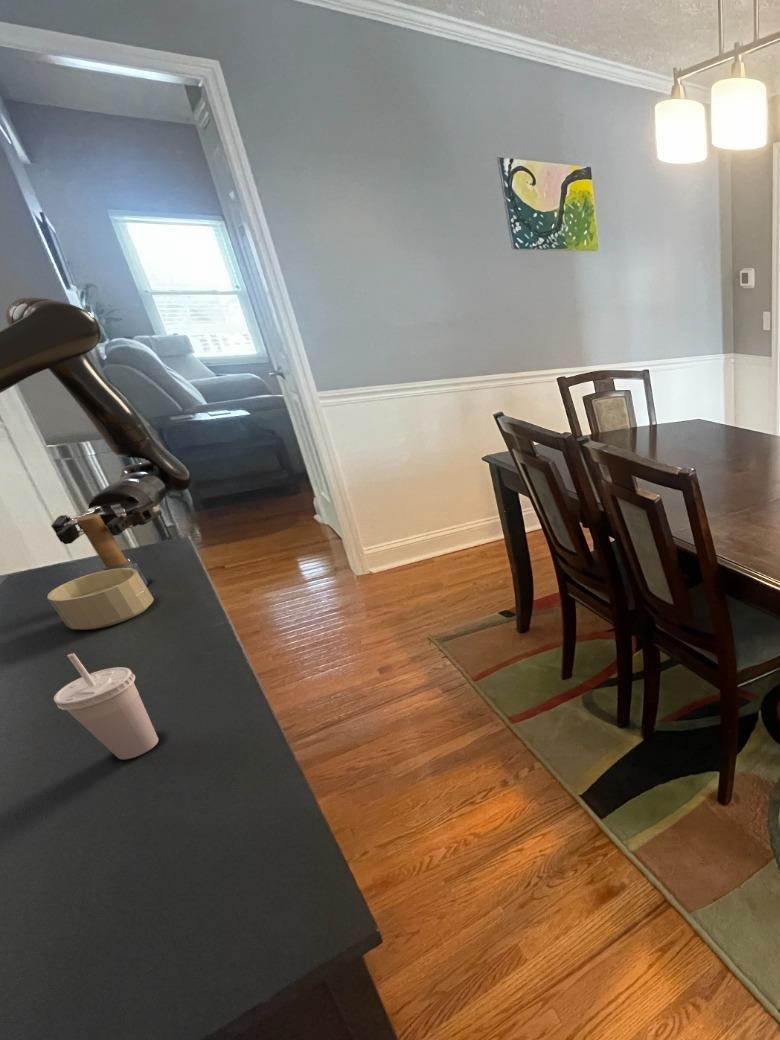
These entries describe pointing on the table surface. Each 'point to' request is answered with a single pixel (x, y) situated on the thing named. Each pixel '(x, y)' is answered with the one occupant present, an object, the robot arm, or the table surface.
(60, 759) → the table surface
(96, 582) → the bowl
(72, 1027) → the table surface
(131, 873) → the table surface
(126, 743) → the smoothie
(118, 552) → the brush
